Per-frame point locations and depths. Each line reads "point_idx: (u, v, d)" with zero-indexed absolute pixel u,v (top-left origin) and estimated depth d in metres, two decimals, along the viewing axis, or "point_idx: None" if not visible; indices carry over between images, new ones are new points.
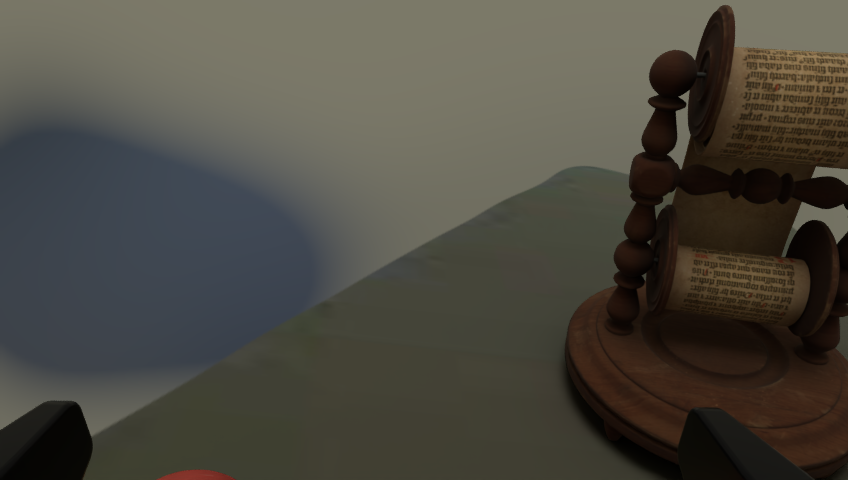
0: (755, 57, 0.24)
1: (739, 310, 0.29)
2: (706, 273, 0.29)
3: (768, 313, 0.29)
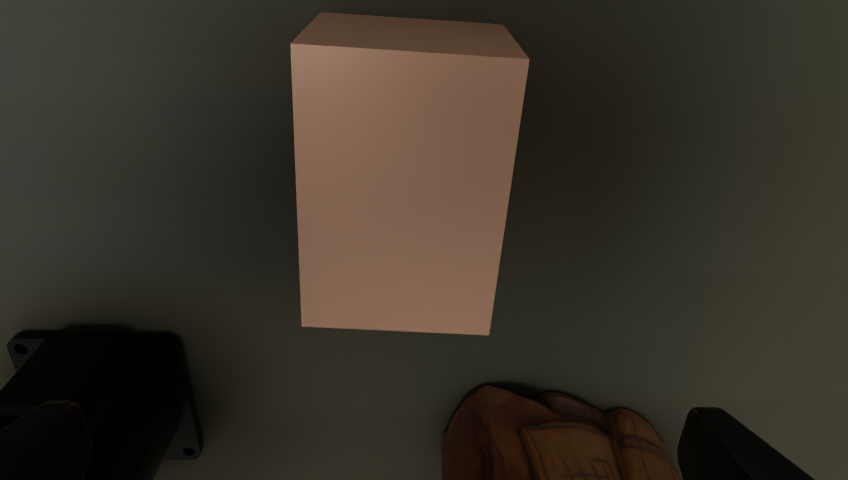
0: None
1: None
2: None
3: None
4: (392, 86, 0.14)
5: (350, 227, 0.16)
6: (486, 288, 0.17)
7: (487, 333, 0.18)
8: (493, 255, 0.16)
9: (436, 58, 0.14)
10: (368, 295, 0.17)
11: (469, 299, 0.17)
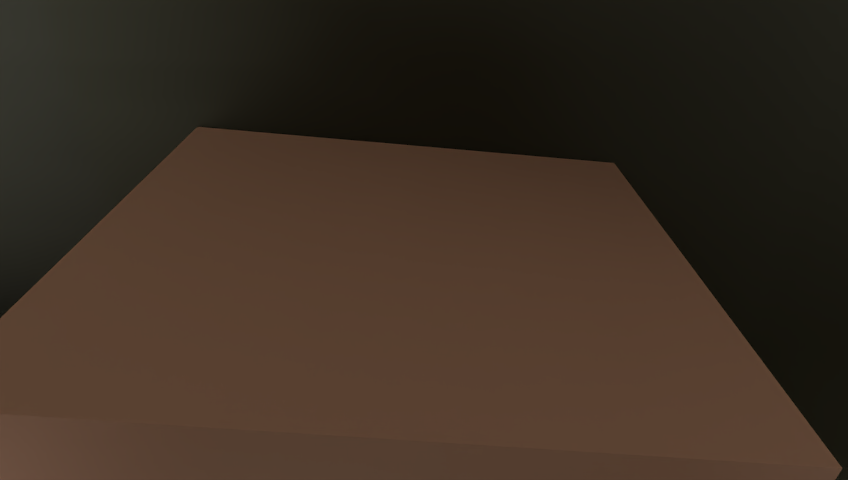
0: None
1: None
2: None
3: None
4: None
5: None
6: None
7: None
8: None
9: (487, 458, 0.04)
10: None
11: None
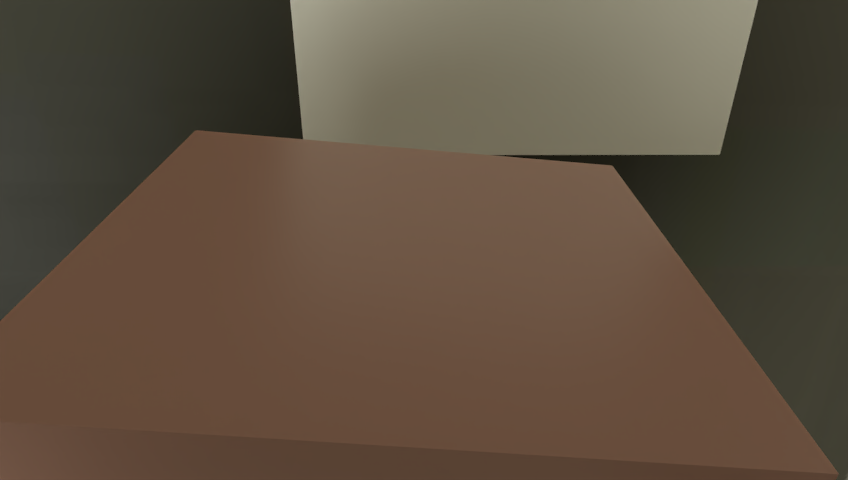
0: None
1: None
2: None
3: None
4: None
5: None
6: None
7: None
8: None
9: (483, 465, 0.04)
10: None
11: None
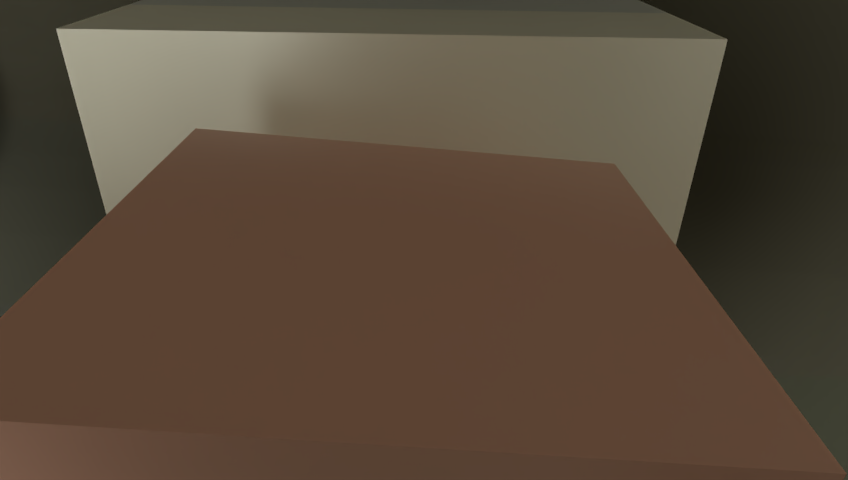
0: None
1: None
2: None
3: None
4: None
5: None
6: None
7: None
8: None
9: (487, 466, 0.04)
10: None
11: None
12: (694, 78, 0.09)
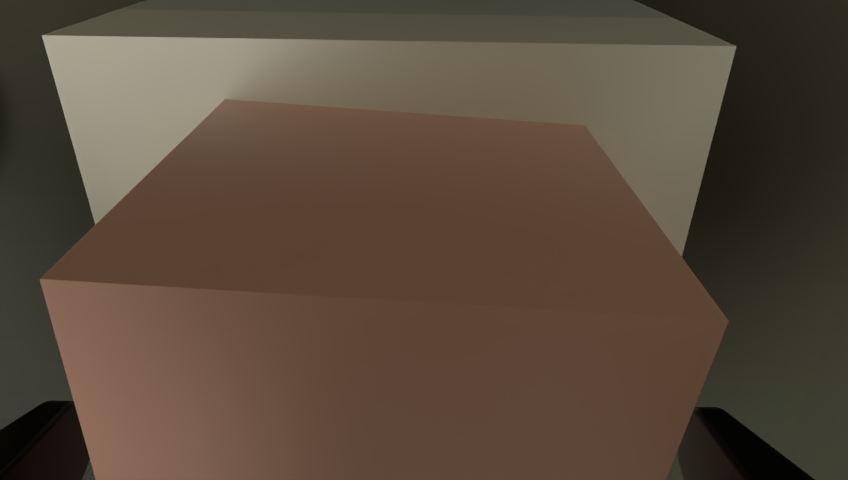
0: None
1: None
2: None
3: None
4: (341, 375, 0.05)
5: None
6: None
7: None
8: None
9: (462, 317, 0.05)
10: None
11: None
12: (701, 86, 0.09)
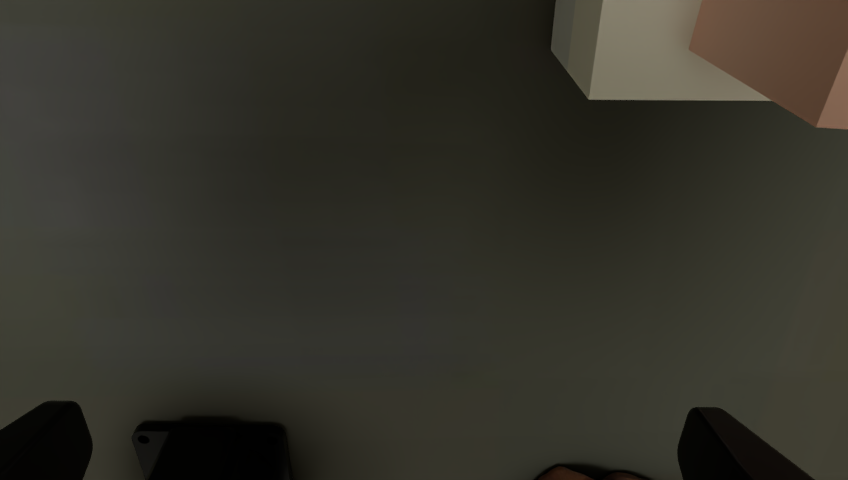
0: None
1: None
2: None
3: None
4: None
5: None
6: None
7: None
8: None
9: None
10: None
11: None
12: None
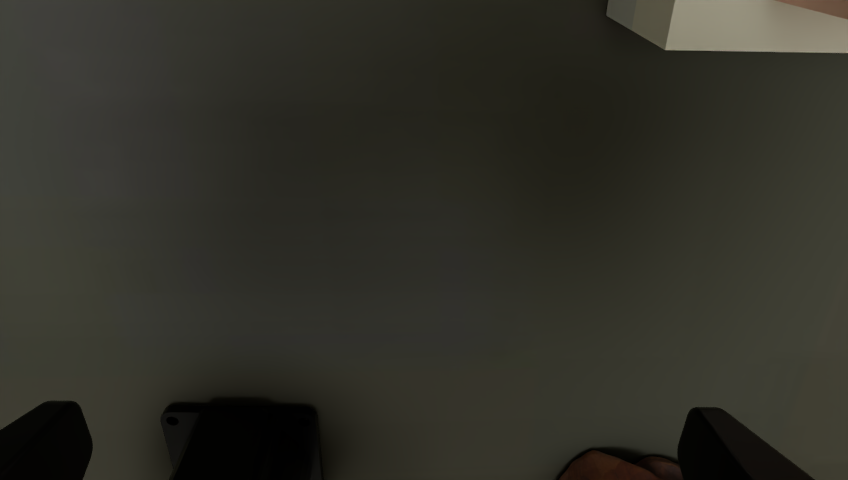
0: None
1: None
2: None
3: None
4: None
5: None
6: None
7: None
8: None
9: None
10: None
11: None
12: None
